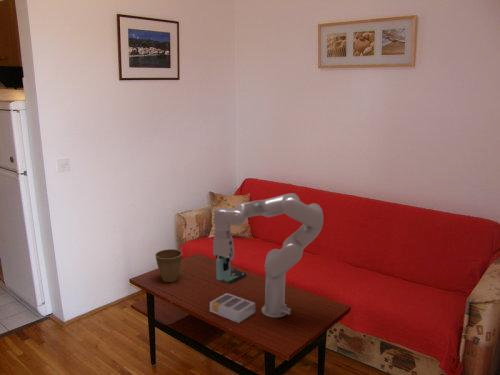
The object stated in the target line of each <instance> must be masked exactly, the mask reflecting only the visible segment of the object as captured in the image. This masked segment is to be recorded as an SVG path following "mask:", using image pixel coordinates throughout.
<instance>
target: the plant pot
mask: <svg viewBox="0 0 500 375" xmlns="http://www.w3.org/2000/svg"><path fill="white" fill-rule="evenodd" d="M154 255H155V260H156V265H157V268H158V271H159V273H160V277H161V279H162V280H163V282H164V283H167V282H171V283H174V281H175V282H176V281H177V280H178V277H179V273H180V270H181V265H182V260H183V259H182V257H183V252H182V251H181V250H179V249H174V248H172V249H170V248H169V249H163V250H159V251H157V252H156V253H154Z"/></svg>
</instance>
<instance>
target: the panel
mask: <svg viewBox="0 0 500 375" xmlns="http://www.w3.org/2000/svg"><path fill="white" fill-rule="evenodd" d="M229 257H230V256H229ZM231 261H232V260H230V262H229V269H228V270H226V271H224V267H223V263H224V257H221V258H219V259H217V258H216V259H215V270H216V271H215V274H216V278H215V279H216V280H217V281H219V280H220V281H219V282H221V280H222V279H224V278H226V277H228V276H230V275H231V270H232V264H231V263H232V262H231Z"/></svg>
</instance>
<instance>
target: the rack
mask: <svg viewBox="0 0 500 375" xmlns="http://www.w3.org/2000/svg"><path fill="white" fill-rule="evenodd" d="M209 312H210V313H213V314H214V315H215V314H216V315H218V316H220V317H222V318H225V319H228V320H230V321H232V322H236V323H238V324H240V323H241V322H243V321H245V320H246V319H247V318H249V317H251V316H252V315H254V314H255V313H256V302H254V301H252V300H251V301H250V300H248V299H245V298H243V297H239V296H237V295H233V294H231V293H228V292H226V293H224V294H222V295H220V296H218V297H217V298H215V299H213V300H211V301H209Z"/></svg>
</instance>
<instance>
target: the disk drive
mask: <svg viewBox="0 0 500 375" xmlns="http://www.w3.org/2000/svg"><path fill="white" fill-rule="evenodd" d="M245 278H247V273H246V272H243V271H241V270H237V269H236V268H231V275H230V276H228V277H226V278H224V279H222V280H221V281H220V280H218V281H219V282H222V283H224V284H227V285H231V284H234V283H236V282H238V281H241V280H243V279H245Z"/></svg>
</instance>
